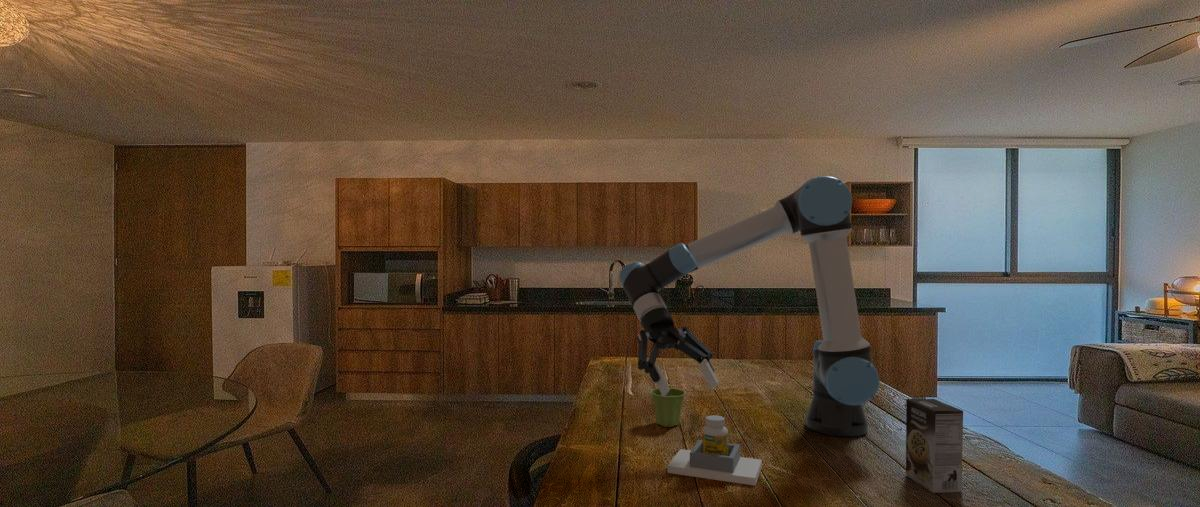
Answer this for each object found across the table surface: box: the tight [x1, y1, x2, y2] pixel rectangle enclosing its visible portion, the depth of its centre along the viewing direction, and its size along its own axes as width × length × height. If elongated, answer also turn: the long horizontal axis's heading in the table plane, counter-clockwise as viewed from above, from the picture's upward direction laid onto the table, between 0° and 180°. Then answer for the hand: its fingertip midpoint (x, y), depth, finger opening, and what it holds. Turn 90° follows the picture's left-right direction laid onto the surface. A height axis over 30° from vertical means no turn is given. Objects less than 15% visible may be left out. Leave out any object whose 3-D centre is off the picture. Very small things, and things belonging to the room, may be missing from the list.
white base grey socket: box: [667, 439, 763, 487], centre depth 126 cm, size 18×11×4 cm, turn 68°
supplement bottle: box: [702, 414, 729, 456], centre depth 126 cm, size 5×5×10 cm
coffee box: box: [905, 398, 964, 494], centre depth 119 cm, size 9×6×16 cm
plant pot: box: [650, 387, 687, 428], centre depth 159 cm, size 9×9×9 cm
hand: (691, 389), depth 133 cm, fingers open, 13 cm apart
